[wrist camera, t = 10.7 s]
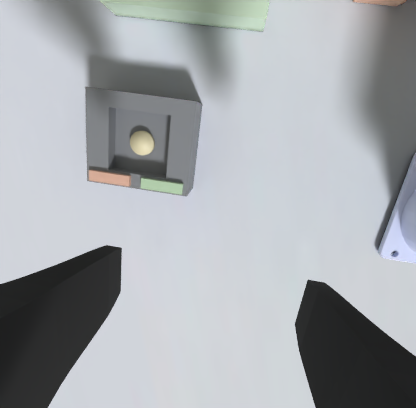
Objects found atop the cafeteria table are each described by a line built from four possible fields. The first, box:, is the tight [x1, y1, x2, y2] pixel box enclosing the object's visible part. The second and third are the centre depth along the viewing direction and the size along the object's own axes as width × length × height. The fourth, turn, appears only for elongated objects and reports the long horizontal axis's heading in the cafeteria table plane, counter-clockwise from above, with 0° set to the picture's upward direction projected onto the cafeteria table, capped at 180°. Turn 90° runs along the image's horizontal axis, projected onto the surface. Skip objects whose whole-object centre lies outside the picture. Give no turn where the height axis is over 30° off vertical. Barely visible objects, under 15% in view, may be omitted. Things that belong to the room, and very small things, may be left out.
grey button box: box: [86, 87, 202, 196], centre depth 17 cm, size 7×6×3 cm
